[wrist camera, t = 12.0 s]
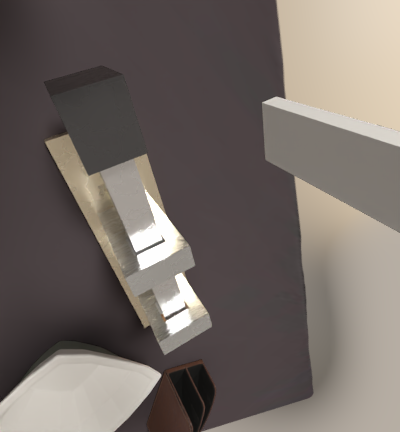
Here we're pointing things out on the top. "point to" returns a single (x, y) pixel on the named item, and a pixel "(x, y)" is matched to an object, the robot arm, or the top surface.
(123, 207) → the shaft
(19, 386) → the bowl
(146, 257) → the frame
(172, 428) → the letter holder
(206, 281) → the top surface
